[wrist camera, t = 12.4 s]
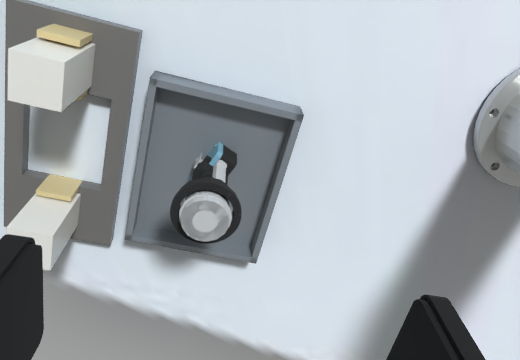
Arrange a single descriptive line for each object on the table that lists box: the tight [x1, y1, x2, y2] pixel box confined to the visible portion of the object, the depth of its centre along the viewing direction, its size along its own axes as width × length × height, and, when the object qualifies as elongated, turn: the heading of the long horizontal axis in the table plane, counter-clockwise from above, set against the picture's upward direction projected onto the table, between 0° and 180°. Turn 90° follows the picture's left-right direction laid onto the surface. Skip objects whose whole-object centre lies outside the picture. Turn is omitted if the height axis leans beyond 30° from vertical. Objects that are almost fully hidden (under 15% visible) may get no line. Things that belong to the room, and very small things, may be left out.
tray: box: [125, 71, 304, 263], centre depth 40 cm, size 13×16×2 cm
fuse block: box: [4, 0, 142, 271], centre depth 35 cm, size 10×21×8 cm, turn 165°
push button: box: [170, 141, 242, 244], centre depth 36 cm, size 7×5×10 cm
